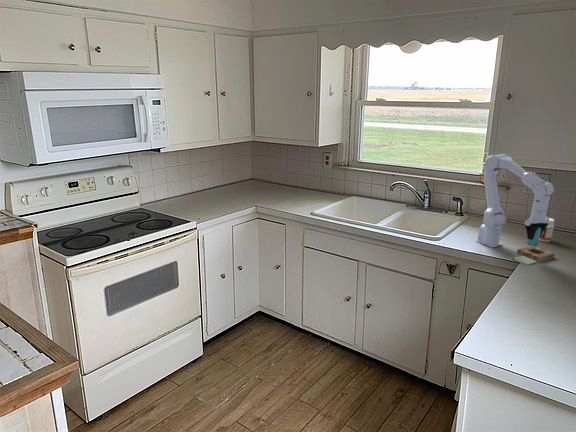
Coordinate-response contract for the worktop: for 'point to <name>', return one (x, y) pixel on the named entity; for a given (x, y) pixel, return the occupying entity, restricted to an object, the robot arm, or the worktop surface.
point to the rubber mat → (525, 260)
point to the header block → (538, 257)
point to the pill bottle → (547, 231)
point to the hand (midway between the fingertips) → (533, 238)
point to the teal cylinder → (535, 238)
